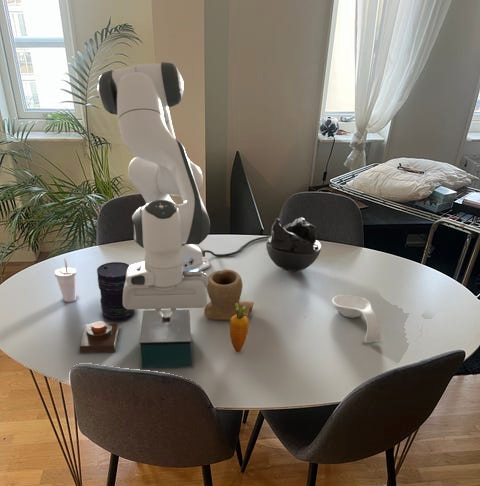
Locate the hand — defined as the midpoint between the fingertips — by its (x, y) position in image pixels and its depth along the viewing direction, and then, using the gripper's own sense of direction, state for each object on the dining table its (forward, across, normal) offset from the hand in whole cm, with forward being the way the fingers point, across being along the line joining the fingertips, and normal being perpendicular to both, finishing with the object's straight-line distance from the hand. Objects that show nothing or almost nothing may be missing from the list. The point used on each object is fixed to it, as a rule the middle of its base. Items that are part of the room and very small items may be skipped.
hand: (166, 321), depth 117 cm
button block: (+12, +19, -10) cm, 24 cm away
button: (+9, +19, -10) cm, 23 cm away
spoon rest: (+13, -58, -16) cm, 61 cm away
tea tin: (+12, 0, -4) cm, 13 cm away
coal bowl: (+13, -45, -55) cm, 72 cm away
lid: (+4, 0, -4) cm, 6 cm away
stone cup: (+13, -18, -21) cm, 31 cm away
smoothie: (+12, +31, -34) cm, 48 cm away
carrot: (+12, -19, -2) cm, 23 cm away
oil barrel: (+12, +15, -24) cm, 31 cm away
